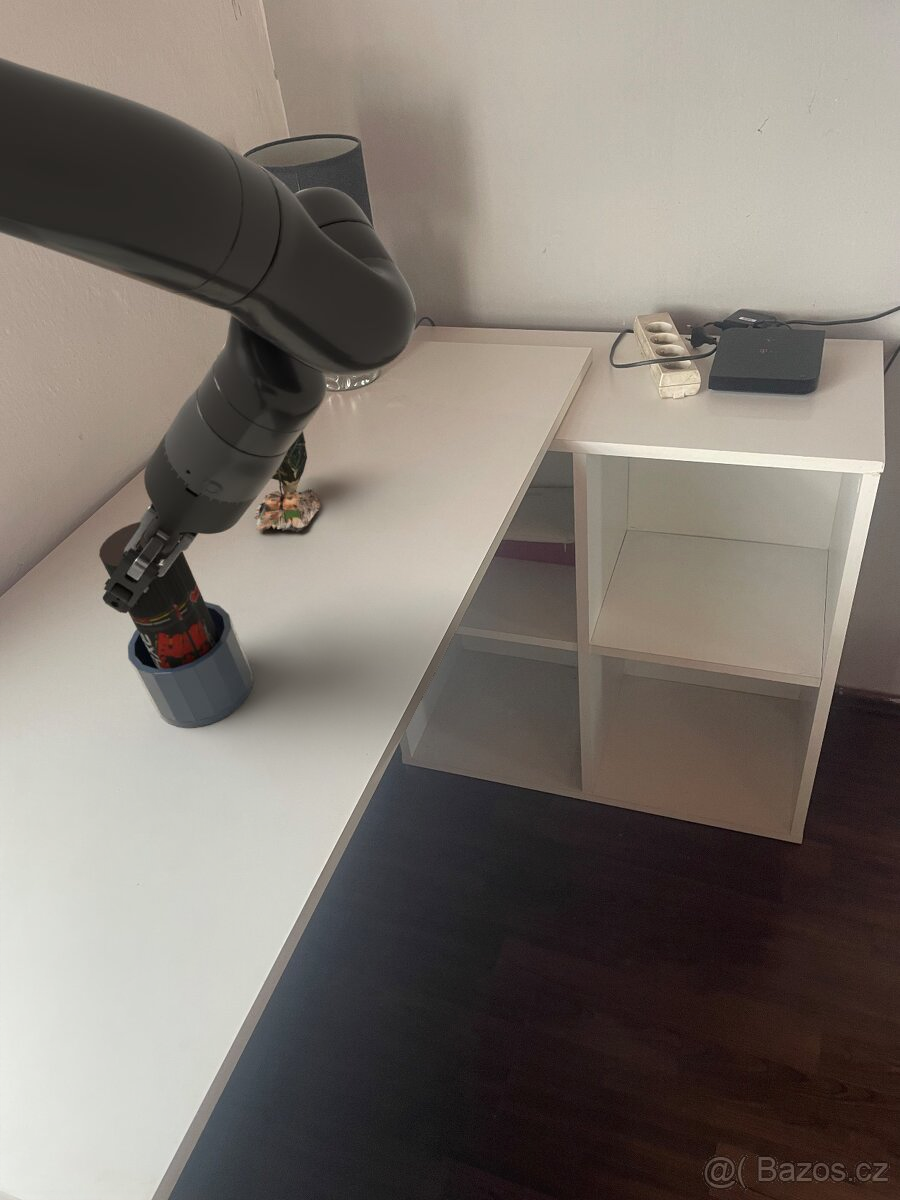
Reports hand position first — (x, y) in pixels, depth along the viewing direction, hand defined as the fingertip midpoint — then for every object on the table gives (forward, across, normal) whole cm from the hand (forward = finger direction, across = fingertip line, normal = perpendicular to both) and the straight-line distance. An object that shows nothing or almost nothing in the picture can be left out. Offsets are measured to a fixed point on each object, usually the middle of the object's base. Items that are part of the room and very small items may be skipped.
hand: (135, 578), depth 71 cm
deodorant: (+7, 0, +9) cm, 12 cm away
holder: (+9, 0, +11) cm, 14 cm away
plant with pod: (+10, -28, +9) cm, 32 cm away
